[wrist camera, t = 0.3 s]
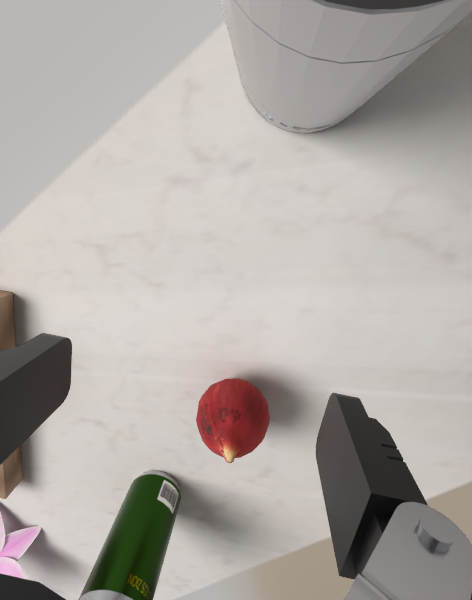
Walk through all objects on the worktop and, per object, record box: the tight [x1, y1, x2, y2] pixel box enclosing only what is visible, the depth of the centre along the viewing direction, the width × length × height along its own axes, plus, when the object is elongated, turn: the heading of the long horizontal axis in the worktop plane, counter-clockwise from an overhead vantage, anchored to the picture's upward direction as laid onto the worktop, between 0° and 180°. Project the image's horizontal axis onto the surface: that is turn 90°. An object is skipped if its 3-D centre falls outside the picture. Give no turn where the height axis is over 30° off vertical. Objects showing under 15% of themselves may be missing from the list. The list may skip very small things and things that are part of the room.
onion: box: [196, 379, 270, 463], centre depth 27 cm, size 6×6×8 cm
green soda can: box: [79, 471, 181, 600], centre depth 30 cm, size 5×5×12 cm
